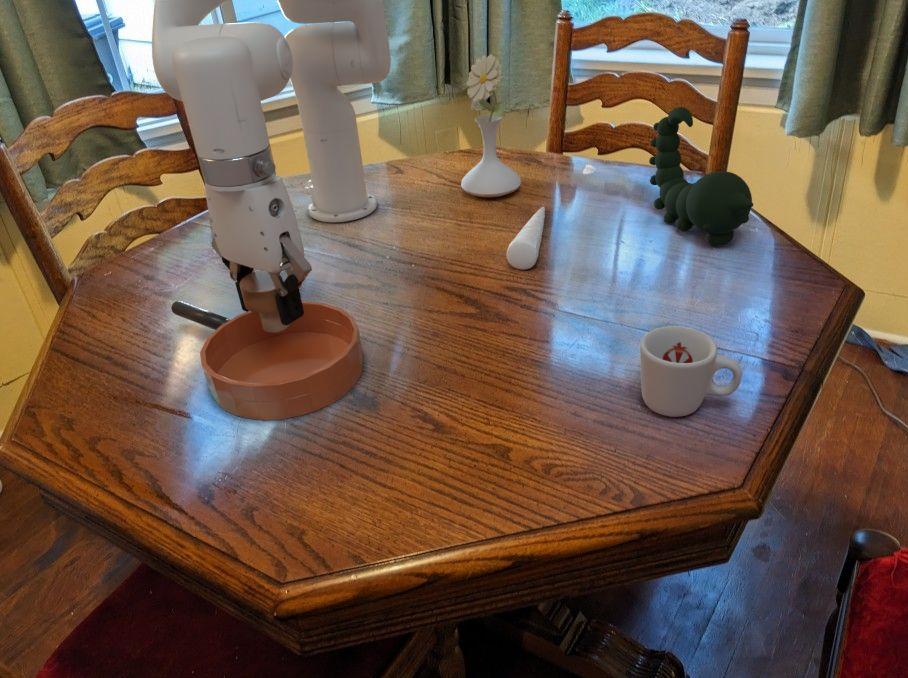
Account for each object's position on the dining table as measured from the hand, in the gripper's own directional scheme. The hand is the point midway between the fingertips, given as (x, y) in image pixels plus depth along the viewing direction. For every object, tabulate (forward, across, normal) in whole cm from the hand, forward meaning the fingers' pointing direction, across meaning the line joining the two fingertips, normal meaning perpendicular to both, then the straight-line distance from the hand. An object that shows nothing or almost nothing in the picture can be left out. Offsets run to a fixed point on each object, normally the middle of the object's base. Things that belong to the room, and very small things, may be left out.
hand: (273, 311), depth 88 cm
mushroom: (+2, 0, 0) cm, 2 cm away
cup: (+9, -45, -18) cm, 49 cm away
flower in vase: (+9, +9, -63) cm, 64 cm away
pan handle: (+6, +15, 0) cm, 16 cm away
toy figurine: (+9, -30, -64) cm, 71 cm away
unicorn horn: (+9, -8, -48) cm, 50 cm away
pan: (+9, 0, 0) cm, 9 cm away
